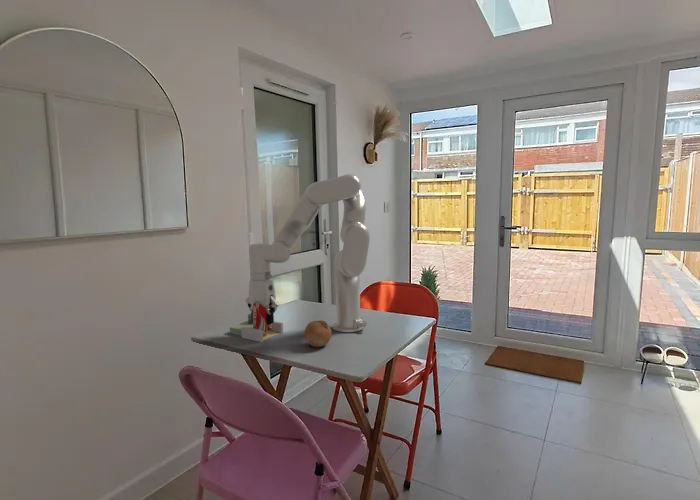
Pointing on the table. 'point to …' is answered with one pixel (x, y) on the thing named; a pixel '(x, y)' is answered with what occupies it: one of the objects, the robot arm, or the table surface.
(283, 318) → the table surface
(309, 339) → the onion
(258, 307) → the soda can
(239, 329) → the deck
